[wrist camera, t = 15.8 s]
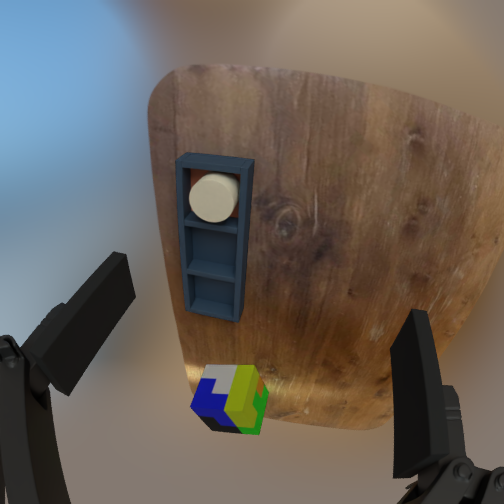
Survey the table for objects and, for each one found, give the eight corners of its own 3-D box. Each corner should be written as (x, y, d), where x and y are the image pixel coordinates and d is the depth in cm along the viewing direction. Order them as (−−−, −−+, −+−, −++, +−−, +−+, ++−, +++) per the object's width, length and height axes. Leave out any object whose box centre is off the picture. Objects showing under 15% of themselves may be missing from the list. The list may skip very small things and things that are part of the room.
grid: (254, 159, 33) (248, 168, 31) (243, 308, 46) (238, 322, 44) (186, 152, 34) (175, 160, 32) (192, 297, 47) (185, 310, 45)
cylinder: (243, 171, 33) (234, 182, 31) (240, 211, 36) (232, 225, 33) (200, 166, 34) (188, 177, 31) (200, 205, 37) (189, 218, 34)
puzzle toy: (206, 364, 57) (189, 406, 49) (254, 364, 54) (241, 411, 46) (224, 391, 62) (211, 430, 54) (268, 392, 59) (259, 434, 51)
